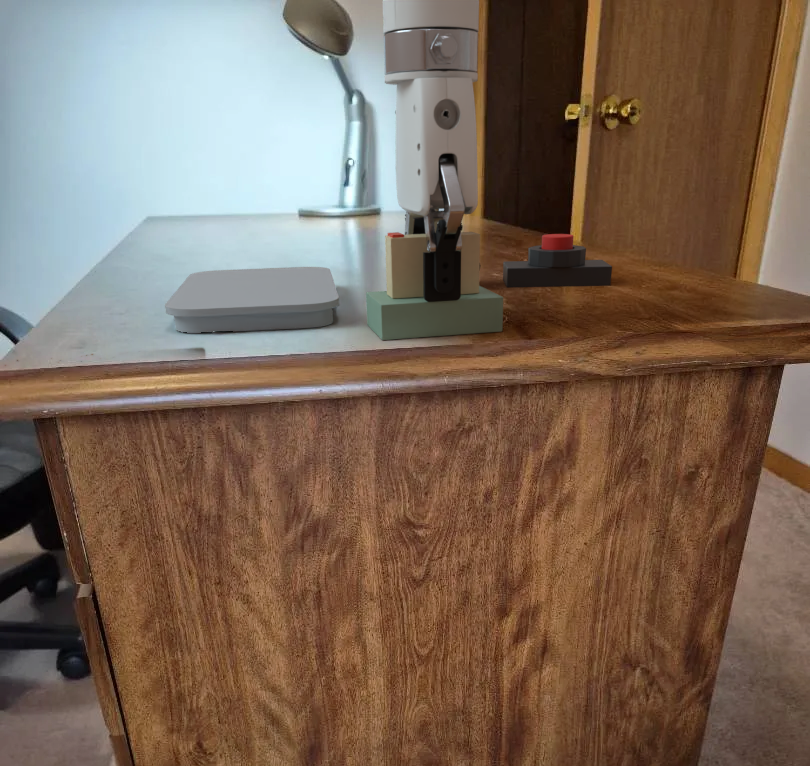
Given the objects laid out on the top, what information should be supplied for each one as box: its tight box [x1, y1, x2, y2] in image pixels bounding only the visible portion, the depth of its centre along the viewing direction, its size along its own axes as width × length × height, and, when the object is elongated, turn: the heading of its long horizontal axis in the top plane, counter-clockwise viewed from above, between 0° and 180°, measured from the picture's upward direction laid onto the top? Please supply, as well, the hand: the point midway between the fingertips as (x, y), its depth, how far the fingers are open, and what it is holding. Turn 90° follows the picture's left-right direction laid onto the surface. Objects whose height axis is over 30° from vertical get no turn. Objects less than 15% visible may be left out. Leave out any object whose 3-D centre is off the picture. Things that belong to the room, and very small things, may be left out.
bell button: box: [541, 233, 575, 250], centre depth 92 cm, size 4×4×2 cm
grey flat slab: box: [164, 266, 340, 334], centre depth 84 cm, size 16×26×2 cm, turn 7°
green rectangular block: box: [365, 285, 504, 341], centre depth 72 cm, size 11×7×3 cm, turn 103°
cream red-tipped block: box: [384, 231, 481, 299], centre depth 70 cm, size 8×2×5 cm, turn 103°
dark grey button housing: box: [502, 244, 613, 288], centre depth 93 cm, size 12×6×4 cm, turn 88°
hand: (431, 292), depth 71 cm, fingers open, 6 cm apart
